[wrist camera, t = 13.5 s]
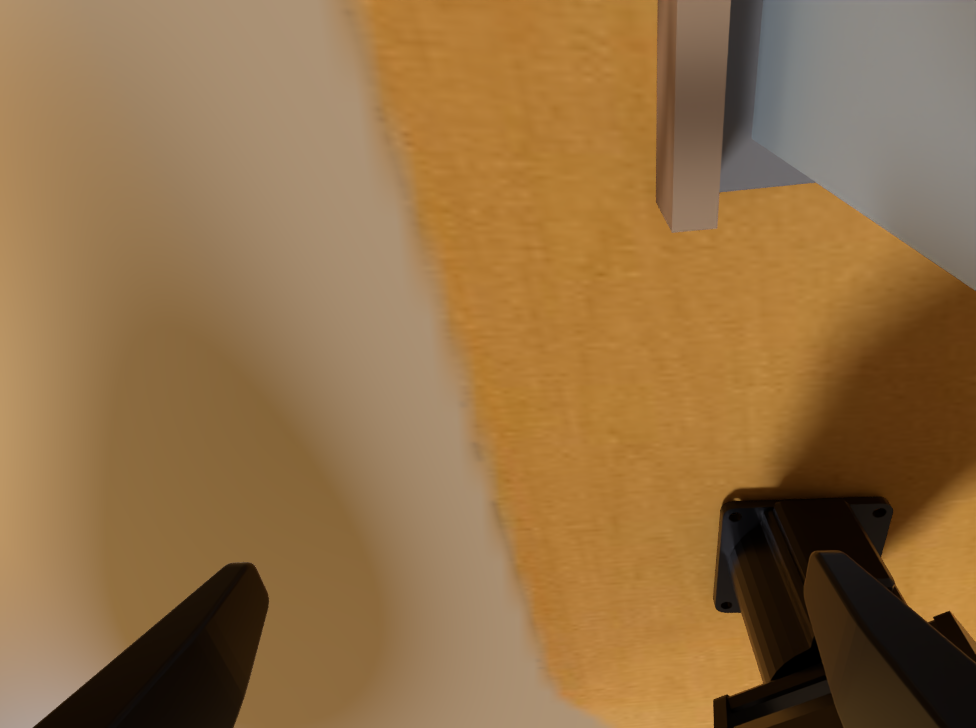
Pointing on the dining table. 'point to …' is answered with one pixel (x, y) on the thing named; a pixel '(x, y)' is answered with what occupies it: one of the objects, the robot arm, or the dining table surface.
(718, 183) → the frame
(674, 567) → the dining table surface
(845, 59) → the slate block
